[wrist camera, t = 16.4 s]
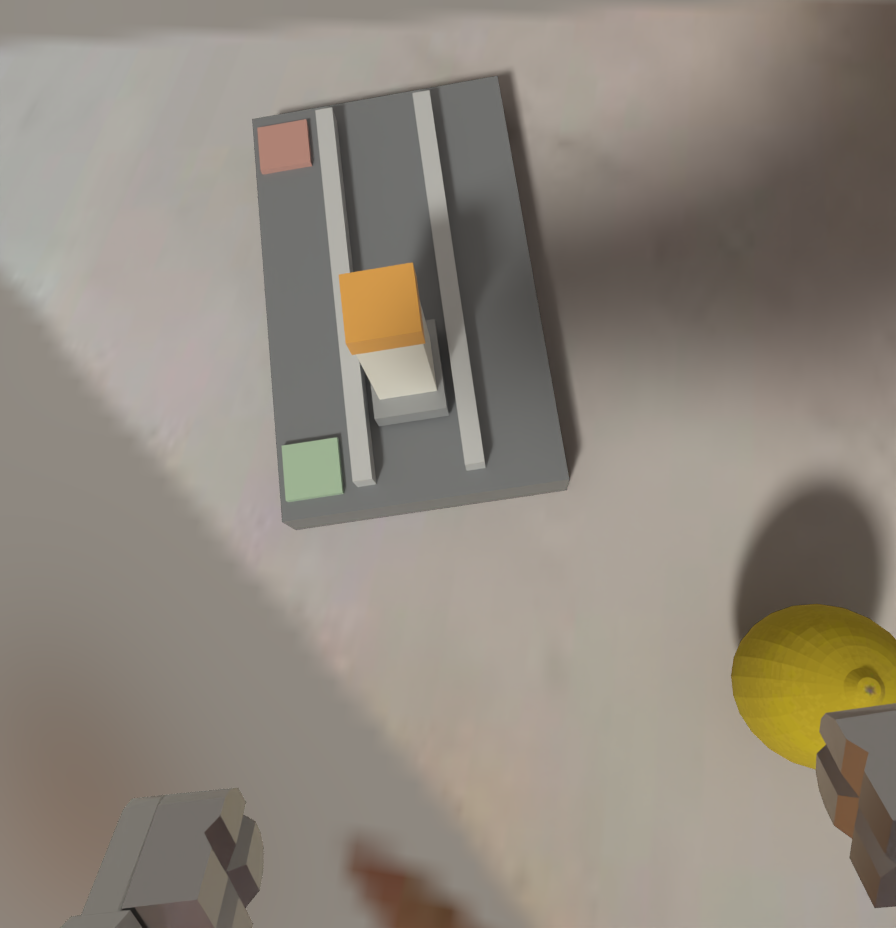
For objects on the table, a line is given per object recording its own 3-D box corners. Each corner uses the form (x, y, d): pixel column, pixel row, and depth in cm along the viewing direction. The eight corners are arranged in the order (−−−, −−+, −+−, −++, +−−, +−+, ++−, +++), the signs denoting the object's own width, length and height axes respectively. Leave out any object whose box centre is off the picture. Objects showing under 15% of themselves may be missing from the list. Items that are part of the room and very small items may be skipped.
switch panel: (566, 490, 33) (570, 473, 30) (295, 529, 34) (274, 517, 31) (498, 105, 38) (496, 59, 35) (265, 146, 39) (245, 104, 36)
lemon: (687, 712, 30) (744, 729, 23) (741, 587, 31) (815, 563, 24) (822, 783, 29) (931, 827, 22) (874, 651, 30) (996, 648, 22)
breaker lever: (449, 415, 32) (430, 349, 25) (378, 426, 32) (341, 363, 25) (436, 328, 33) (416, 243, 26) (369, 339, 33) (331, 257, 26)
